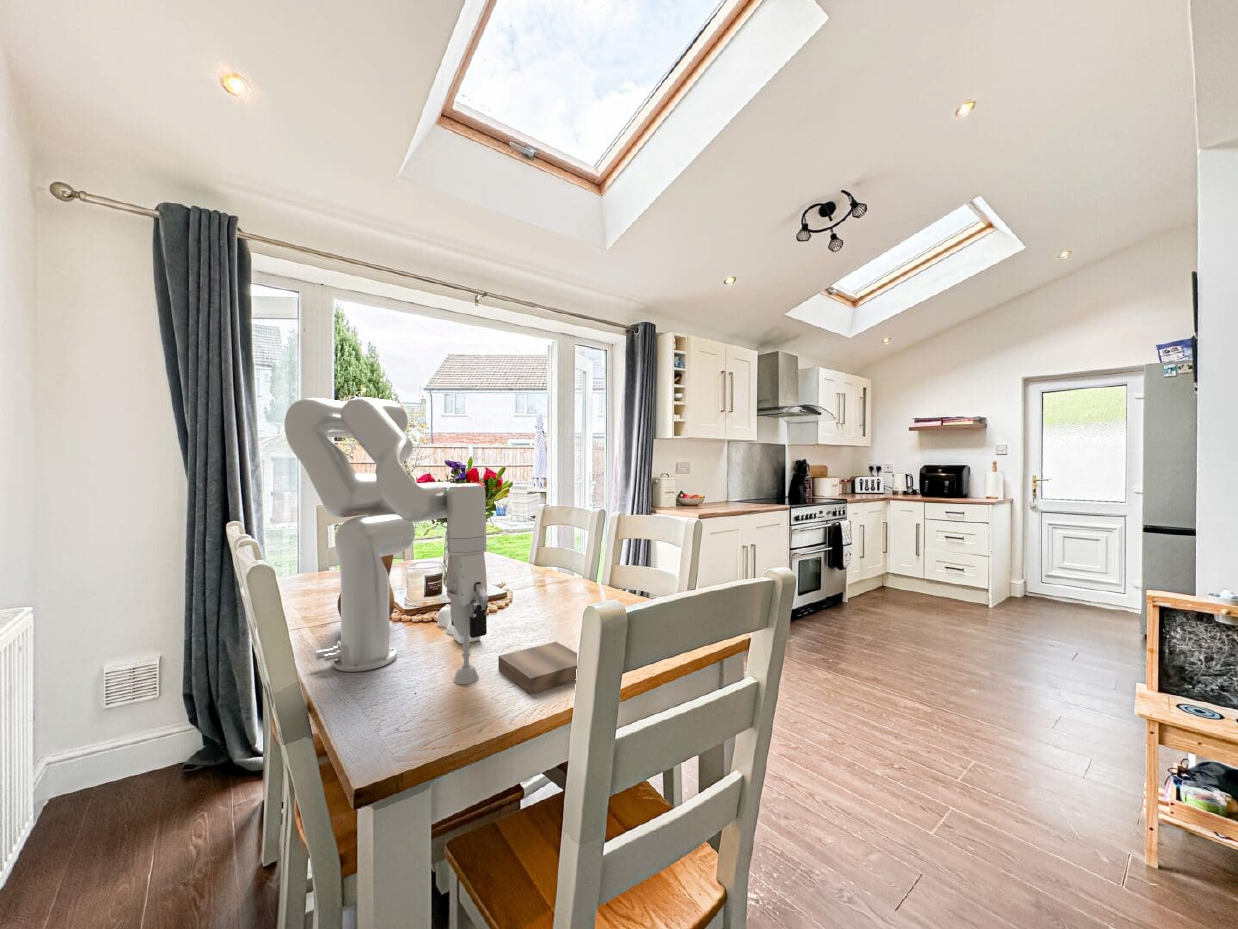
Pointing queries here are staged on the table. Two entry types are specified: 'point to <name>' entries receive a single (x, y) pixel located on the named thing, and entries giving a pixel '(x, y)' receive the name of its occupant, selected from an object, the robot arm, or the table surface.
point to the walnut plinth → (540, 667)
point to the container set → (445, 621)
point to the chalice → (462, 626)
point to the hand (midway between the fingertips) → (468, 630)
